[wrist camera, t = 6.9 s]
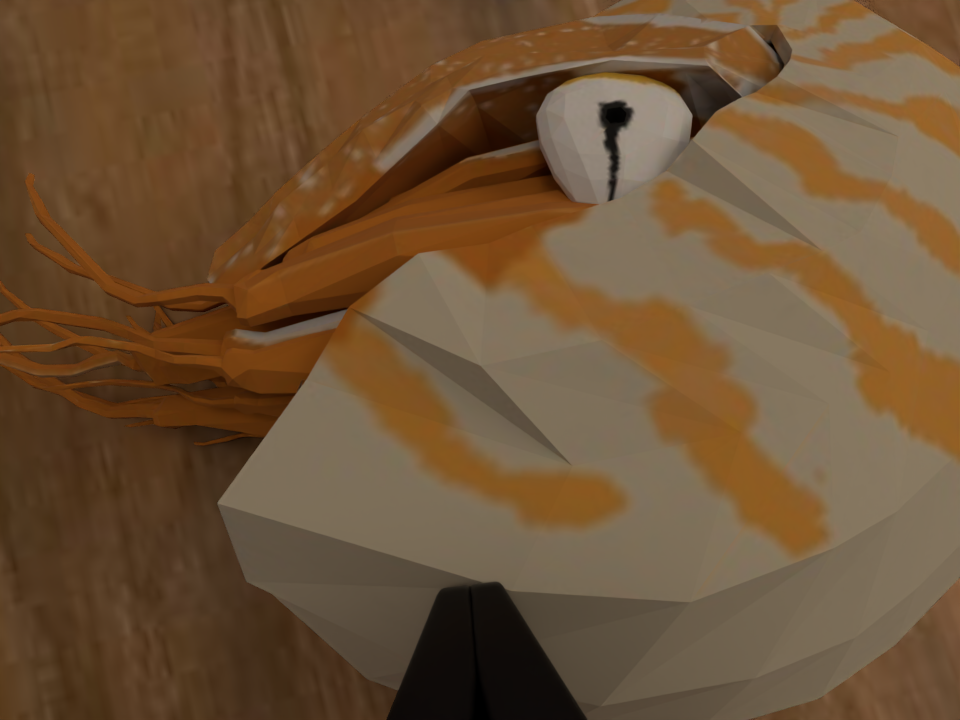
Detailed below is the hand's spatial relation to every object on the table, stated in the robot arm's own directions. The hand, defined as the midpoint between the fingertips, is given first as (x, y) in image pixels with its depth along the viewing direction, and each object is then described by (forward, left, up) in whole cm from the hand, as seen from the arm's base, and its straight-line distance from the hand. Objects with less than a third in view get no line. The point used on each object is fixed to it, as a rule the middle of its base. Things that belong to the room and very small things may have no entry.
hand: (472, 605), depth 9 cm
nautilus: (+5, 0, -7) cm, 9 cm away
